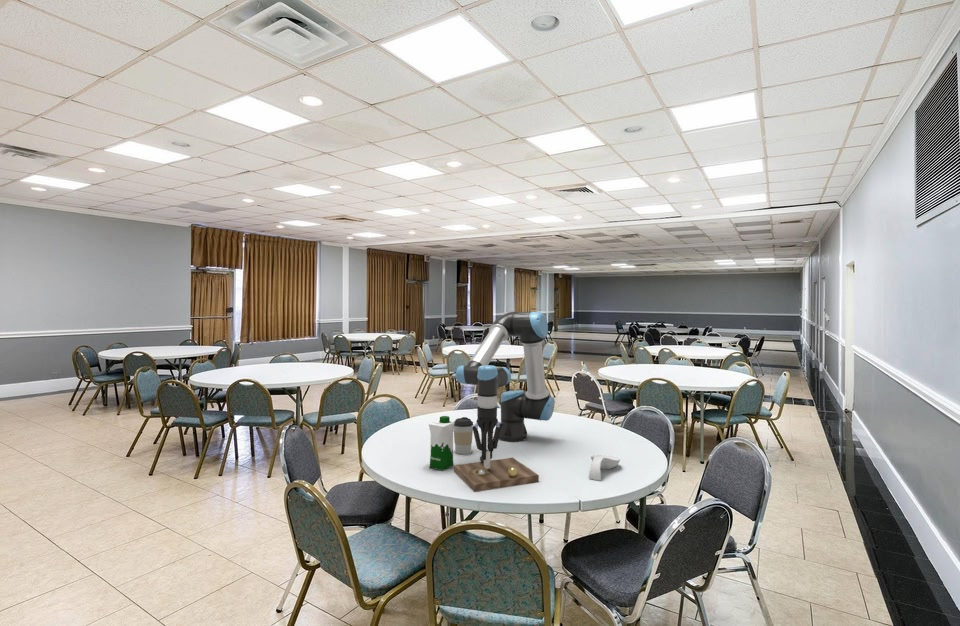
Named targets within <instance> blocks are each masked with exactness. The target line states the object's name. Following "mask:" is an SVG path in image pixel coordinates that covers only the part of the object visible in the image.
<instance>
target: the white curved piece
mask: <svg viewBox="0 0 960 626" xmlns="http://www.w3.org/2000/svg"><path fill="white" fill-rule="evenodd" d="M590 459H591V461H592V463H591V466H590V469H589V473H588V479H589V480H592V479H593V481H598V480H599V482H601V481H602V474H601V470H611V468H612V469H613V468H615V467H617V466H619V463H620V461H621V458H619V457H618V456H615V455H610V454H599V453H598V454H592V455H590ZM601 468H602V469H601Z"/></svg>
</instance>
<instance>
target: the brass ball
mask: <svg viewBox="0 0 960 626" xmlns="http://www.w3.org/2000/svg"><path fill="white" fill-rule="evenodd" d="M508 475H509V476H510V477H515V476H516V475H517V469H516V468H515V467H510V468H509V469H508Z"/></svg>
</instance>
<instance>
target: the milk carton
mask: <svg viewBox="0 0 960 626" xmlns="http://www.w3.org/2000/svg"><path fill="white" fill-rule="evenodd" d="M454 424H455V423H454V421H451V420H450V416H449V415H441V416H439V420H436V421H432V422H431V423H428V427H429V431H430V433H429V434H430V458H429V468H430V469H435V470H439V471H446V470H448V469H449V468H452V467H454Z"/></svg>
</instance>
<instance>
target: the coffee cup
mask: <svg viewBox="0 0 960 626" xmlns="http://www.w3.org/2000/svg"><path fill="white" fill-rule="evenodd" d="M453 422H454V423H455V424H454V431H453V443H454V448H455V449H454V450H455V454H458V455H469V454H471V451H472V443H473V435H474V432H473V430H472V428H471V425H474V421H472V420H471V418H468V417H466V416H464V417H460V418H459V417H458V418H456V419H455V420H454V421H453Z"/></svg>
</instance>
